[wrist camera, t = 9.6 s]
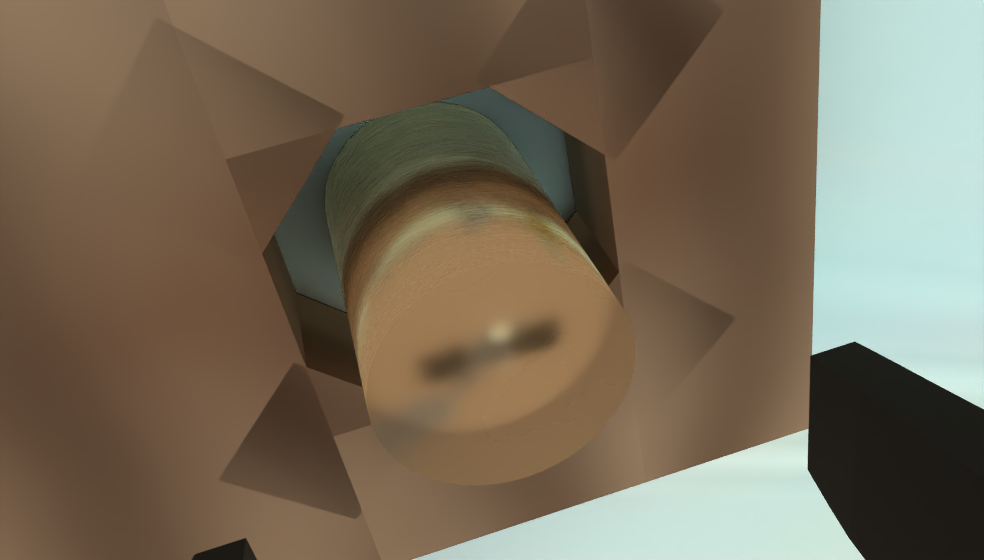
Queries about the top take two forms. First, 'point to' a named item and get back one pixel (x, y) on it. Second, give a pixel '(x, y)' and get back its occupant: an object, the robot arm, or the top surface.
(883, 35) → the top surface
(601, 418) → the cylinder
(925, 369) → the top surface
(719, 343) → the jig plate
